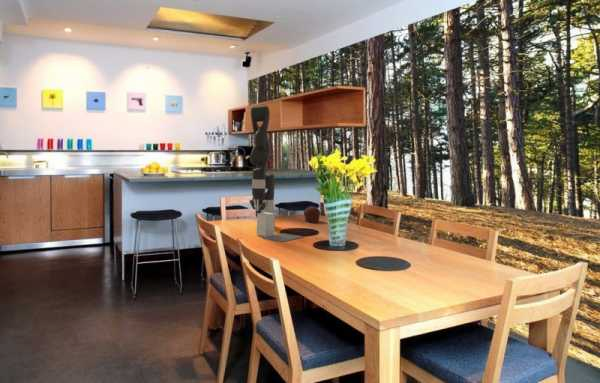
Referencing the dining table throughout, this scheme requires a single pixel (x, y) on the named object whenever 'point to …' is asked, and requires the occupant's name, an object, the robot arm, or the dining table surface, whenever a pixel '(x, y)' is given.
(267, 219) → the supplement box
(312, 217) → the muffin
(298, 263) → the dining table surface
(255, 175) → the robot arm
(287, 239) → the mat
